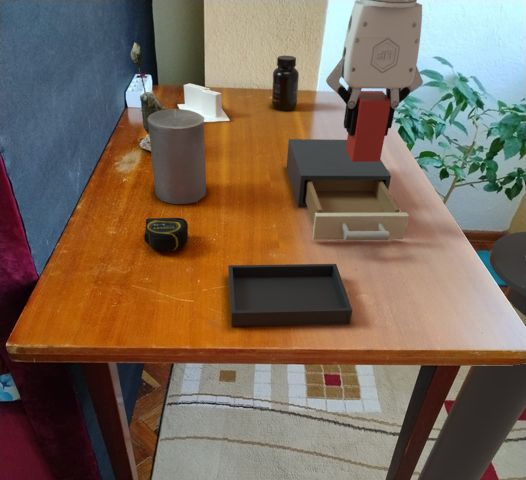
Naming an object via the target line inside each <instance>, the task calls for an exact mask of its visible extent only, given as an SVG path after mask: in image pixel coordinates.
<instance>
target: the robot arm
mask: <svg viewBox="0 0 526 480" xmlns="http://www.w3.org/2000/svg"><path fill="white" fill-rule="evenodd" d="M417 1H418V0H355V1H354V3H353V7H352V10H351V12H350V16H349V21H348V25H347V28H346V33H345V39H344V42H343V49H342V53H341V59H340V60H339V61H338V63H337V64H336V65H335V67H334V68H333V69H332V71H331V72H330V73H329V75H328V76H327V77H326V80H325V82H326V84H327V85H328V87H329V88H330V89H332V90H333V91H334V92H335V93H336V94H337V95H339V96H338V97H340V98H341V100H342V101H343V102H344V103H345V111H344V118H343V128H344V129H345V130H346V133H347V135H348V134H349V136H353V135H354V134H355V128H356V122H357V115H358V109H357V107H356V106H357V100H358V97H359V95H360V92H361V91H362V89H374V90H375V89H376V90H377V89H379V90H381V89H382V90H383V89H384V90H385V95H386V96H387V97H388V98H389V99H390V100H391V105H390V111H389V116H388V121H387V126H386V132H385V137H387V136H388V134H389V129H392V125H393V121H394V117H395V110H396V109H397V108H398V107H399V106H400V104H401V103H402V102H403V101H404V100H405V99H406V98H407V97H408V96H409V95H410V94H411V93H413V92H415V91H416V90H417V89H419V88H420V87H421V86H422V85H423V84H424V80H423V79H422V76H421V74H420V71H419V68H418V66H417V65H418V58H419V50H420V45H421V36H422V33H421V32H422V22H423V4H421V3H419V2H417ZM341 78H342V79H343V80H344V82H345V83H346V85H347V88H346V87H345V85H343V84H342V83H341V82H340V79H341ZM525 257H526V256H525Z"/></svg>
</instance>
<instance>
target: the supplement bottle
mask: <svg viewBox="0 0 526 480" xmlns="http://www.w3.org/2000/svg"><path fill="white" fill-rule="evenodd" d="M276 66H277V67H276V68H275V69H274V70H273V72H272V87H271V89H272V92H271V93H272V94H271V106H272V108H273V109H274V110H277V111H281V112H289V111H290V112H291V111H293V110H296V108H297V106H298V93H299V81H300V80H299V79H300V73H299V71H298V70H297V69H296V66H297V57H296V56H293V55H279V56H277V58H276Z"/></svg>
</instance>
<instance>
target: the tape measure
mask: <svg viewBox="0 0 526 480" xmlns="http://www.w3.org/2000/svg"><path fill="white" fill-rule="evenodd" d="M188 231H189V223H188V221H187V220H186V219H185V218H181V217H149V218H145V228H144V234H143V238H144V241H145V243H146V244H147V245H148V247H150V248H151V249H152V250H154V251H158V252H172V251H177V250H180V249H182V248H184V247H185V246H186V245H187V244H188V240H189V232H188Z"/></svg>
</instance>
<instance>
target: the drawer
mask: <svg viewBox="0 0 526 480" xmlns="http://www.w3.org/2000/svg"><path fill="white" fill-rule="evenodd" d="M304 198H305V201H306V204H307V207H306V208H307V210H308V213H309V217H310V219H311V222H312V225H313V226H312V234H311V237H312V240H314V241H323V240H324V241H326V240H327V241H330V240H333V241H336V240H337V241H338V240H339V241H340V240H343V241H389V240H404V236H405V232H406V230H407V229H406V228H407V225H408V222H409V217H410V215H409V213H408V212H401V208H400V207H399V205H398V204H397V202H396V201H395V199H394V198H393V195H392V194H391V192H390V191H389V188H388V189H387V188H386V186H385V184H384V183H383V181H382V180H305V185H304Z"/></svg>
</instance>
